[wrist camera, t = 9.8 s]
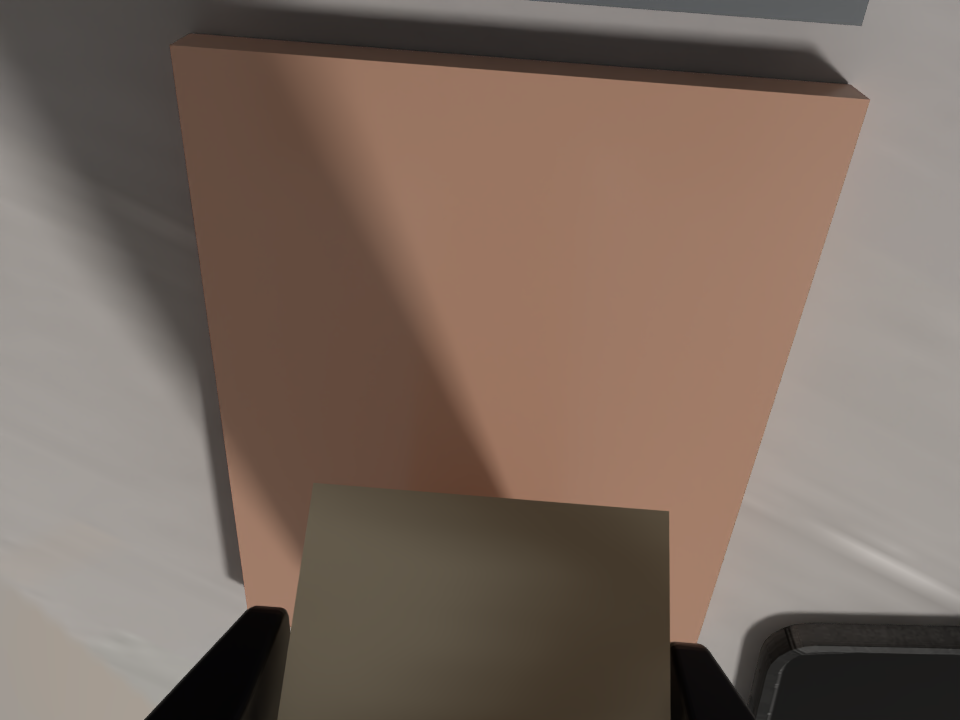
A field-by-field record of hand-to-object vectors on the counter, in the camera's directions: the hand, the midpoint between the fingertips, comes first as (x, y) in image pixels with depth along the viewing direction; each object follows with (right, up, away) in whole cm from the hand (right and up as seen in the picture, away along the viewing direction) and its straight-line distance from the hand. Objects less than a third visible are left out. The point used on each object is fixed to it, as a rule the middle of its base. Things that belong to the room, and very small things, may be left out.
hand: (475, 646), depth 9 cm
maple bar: (0, 0, +5) cm, 5 cm away
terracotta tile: (0, +3, +9) cm, 10 cm away
